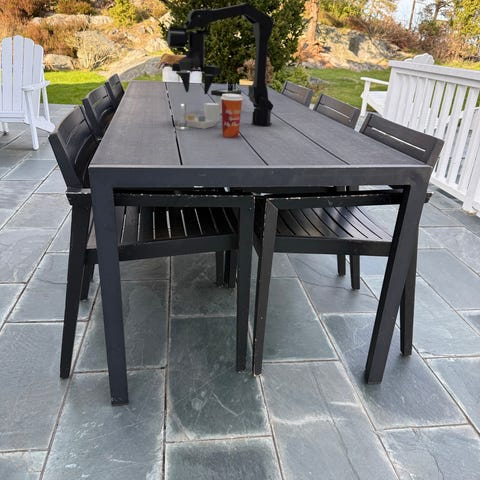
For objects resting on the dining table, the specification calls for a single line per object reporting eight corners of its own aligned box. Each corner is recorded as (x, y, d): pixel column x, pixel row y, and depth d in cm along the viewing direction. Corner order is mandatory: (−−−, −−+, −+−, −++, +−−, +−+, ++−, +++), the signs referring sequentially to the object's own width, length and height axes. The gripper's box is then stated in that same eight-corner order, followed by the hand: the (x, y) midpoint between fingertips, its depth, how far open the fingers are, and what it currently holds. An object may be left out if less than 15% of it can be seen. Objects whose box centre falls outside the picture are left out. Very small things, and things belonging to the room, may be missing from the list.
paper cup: (225, 138, 151) (226, 96, 145) (216, 134, 157) (217, 93, 151) (245, 137, 155) (247, 96, 149) (235, 133, 161) (237, 93, 155)
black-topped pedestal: (236, 121, 186) (238, 88, 180) (186, 113, 197) (186, 82, 191) (266, 113, 208) (268, 84, 202) (219, 107, 219) (220, 79, 214)
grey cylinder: (217, 123, 177) (218, 105, 174) (201, 122, 178) (201, 104, 175) (221, 120, 183) (222, 103, 180) (205, 119, 184) (206, 102, 181)
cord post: (191, 128, 164) (191, 103, 160) (184, 130, 160) (184, 105, 156) (180, 127, 166) (180, 102, 162) (173, 128, 162) (172, 103, 158)
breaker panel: (214, 125, 172) (215, 116, 170) (204, 128, 165) (204, 119, 164) (189, 121, 177) (189, 112, 175) (177, 124, 170) (177, 115, 169)
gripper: (162, 46, 157) (163, 92, 163) (206, 49, 149) (205, 97, 156) (180, 47, 166) (180, 90, 172) (222, 49, 158) (221, 95, 165)
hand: (196, 93), depth 166 cm, fingers open, 8 cm apart
